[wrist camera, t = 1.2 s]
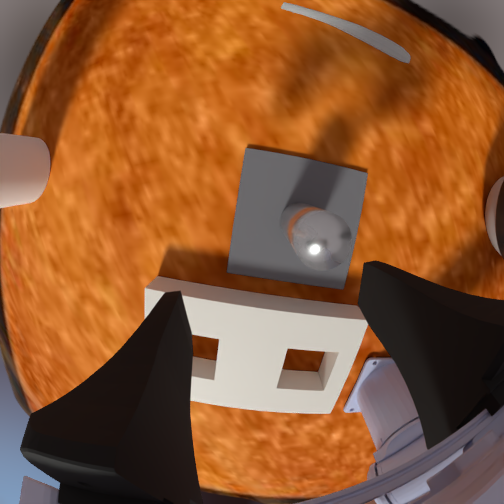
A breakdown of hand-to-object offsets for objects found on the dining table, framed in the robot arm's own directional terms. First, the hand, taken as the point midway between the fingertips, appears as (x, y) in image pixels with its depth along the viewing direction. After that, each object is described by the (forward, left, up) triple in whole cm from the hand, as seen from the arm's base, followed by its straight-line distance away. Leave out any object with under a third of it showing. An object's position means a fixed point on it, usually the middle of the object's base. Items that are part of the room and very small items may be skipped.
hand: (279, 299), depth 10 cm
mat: (-2, -2, -12) cm, 12 cm away
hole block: (0, +10, -12) cm, 16 cm away
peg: (-2, -2, -12) cm, 12 cm away
